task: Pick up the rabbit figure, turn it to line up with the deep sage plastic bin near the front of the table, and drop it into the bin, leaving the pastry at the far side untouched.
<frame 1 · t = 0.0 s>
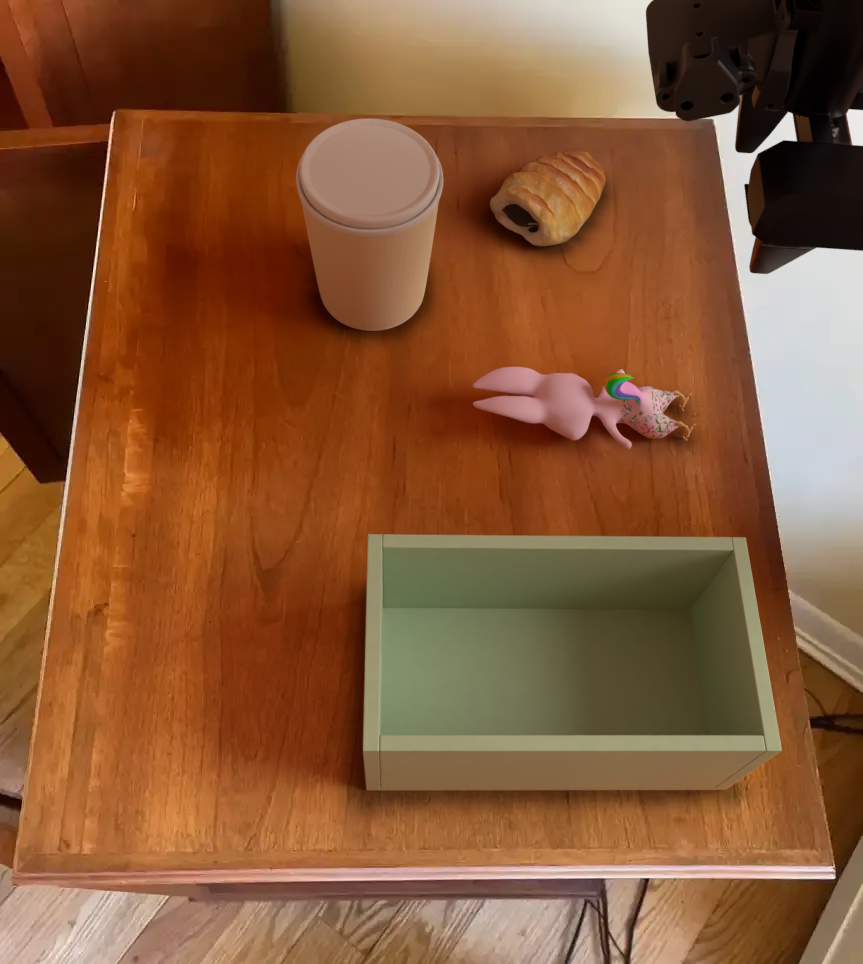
hand: (750, 208, 58), 16 cm above the table, tool pointing down, fingers open, 9 cm apart
rabbit figure: (578, 421, 70), on the table
coffee cup: (372, 290, 75), on the table
pastry: (545, 211, 79), on the table
bin: (541, 690, 61), on the table
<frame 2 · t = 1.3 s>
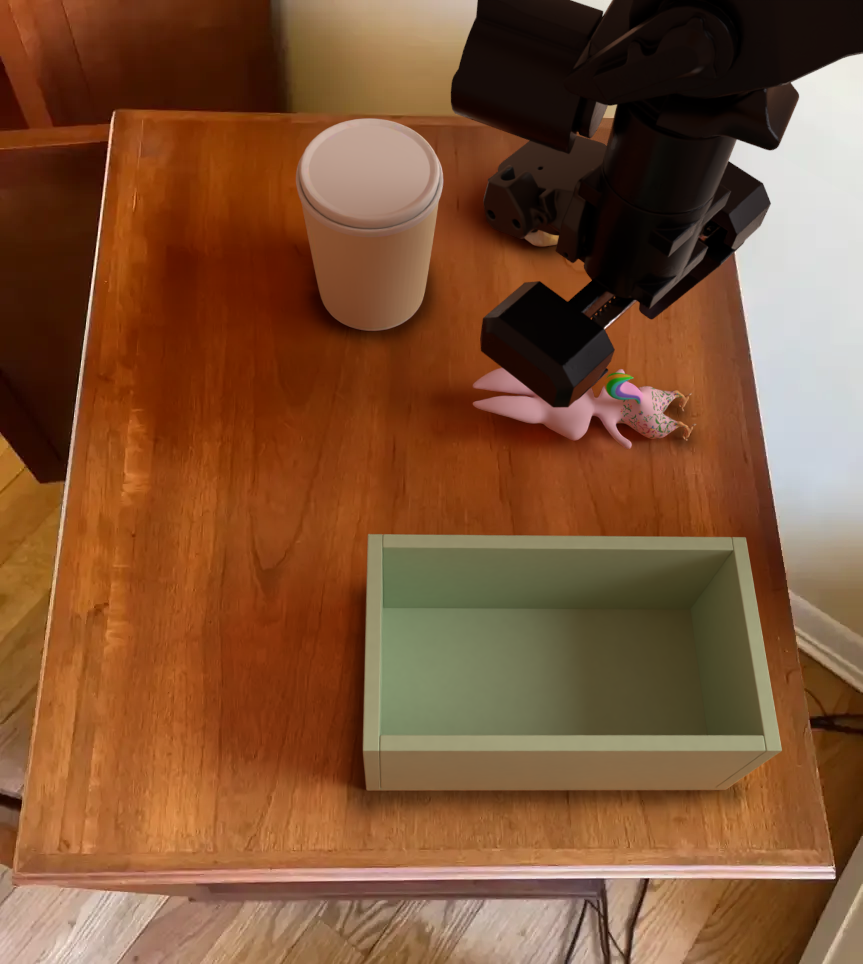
hand: (601, 356, 63), 7 cm above the table, tool pointing down, fingers open, 9 cm apart
nothing on the table moved.
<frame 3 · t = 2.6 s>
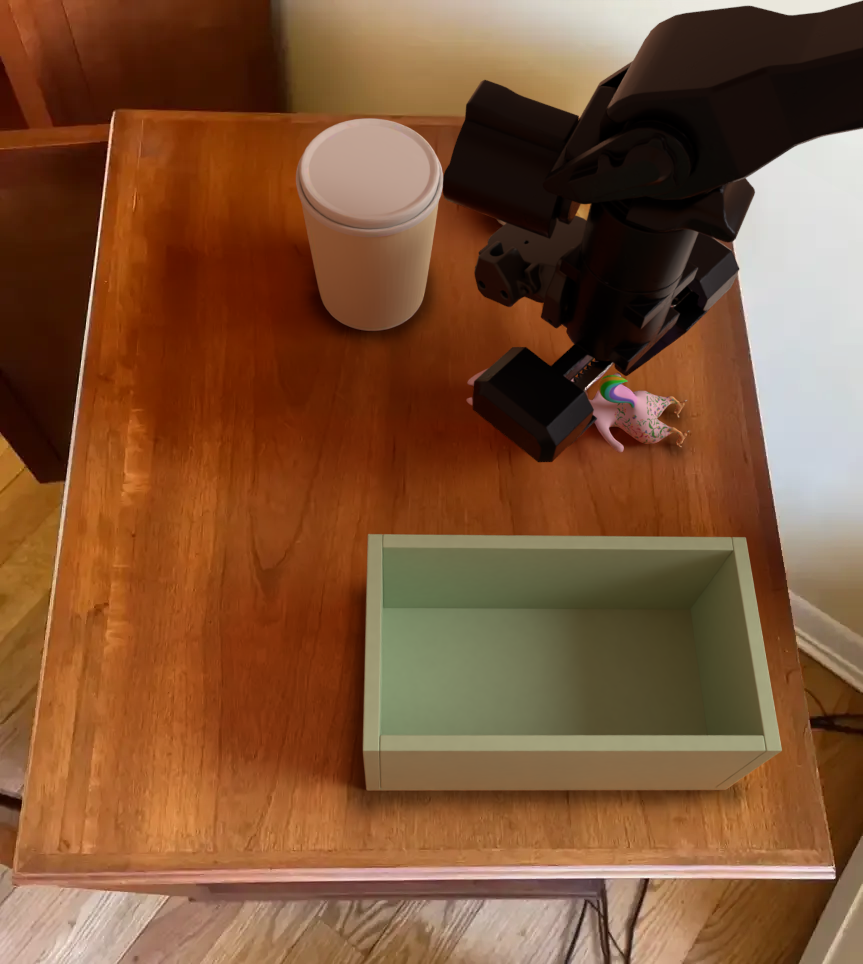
hand: (586, 404, 68), 2 cm above the table, tool pointing down, fingers closed on rabbit figure, 7 cm apart
rabbit figure: (572, 423, 70), on the table, touching gripper
everything else where it was.
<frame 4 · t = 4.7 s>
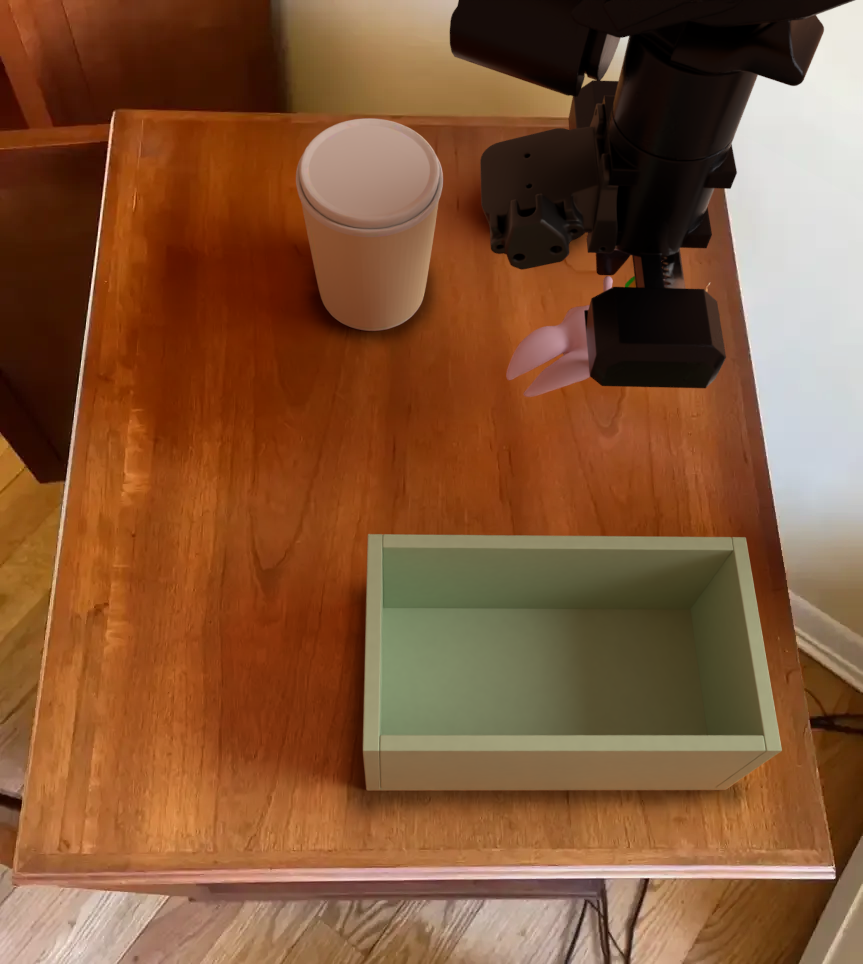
hand: (610, 324, 60), 11 cm above the table, tool pointing down, fingers closed on rabbit figure, 7 cm apart
rabbit figure: (602, 351, 61), point 9 cm above the table, touching gripper
everything else where it was.
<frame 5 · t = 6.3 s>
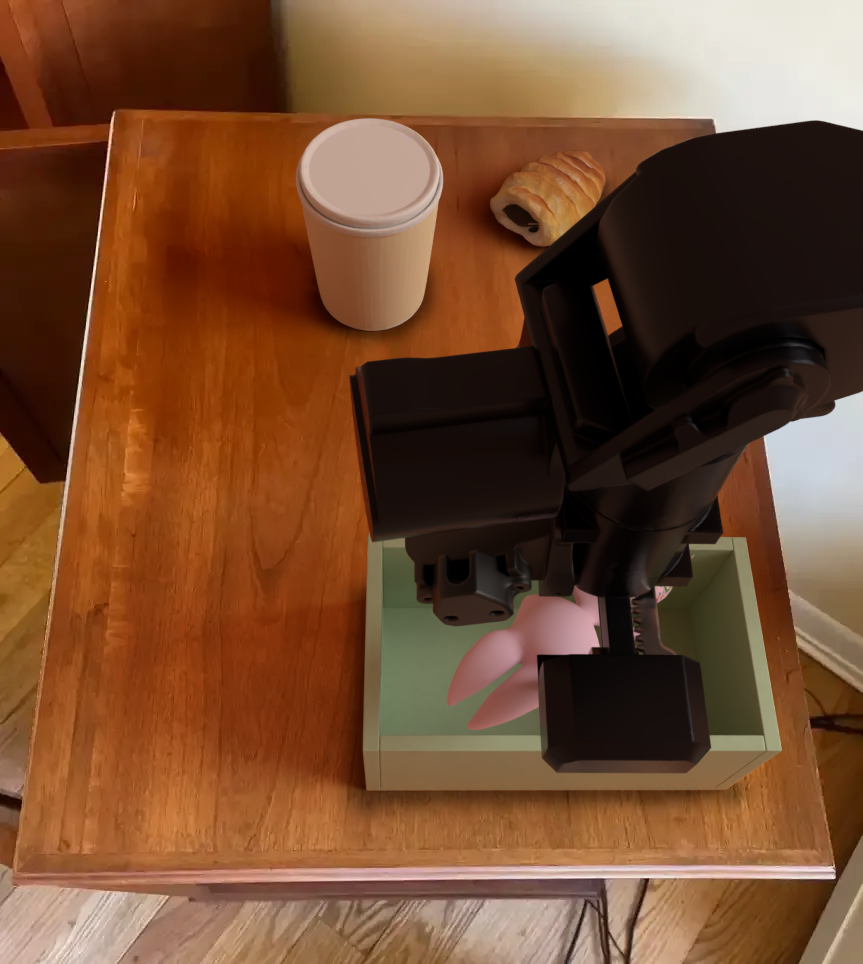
hand: (574, 613, 50), 12 cm above the table, tool pointing down, fingers closed on rabbit figure, 7 cm apart
rabbit figure: (566, 640, 51), point 10 cm above the table, touching gripper
everything else where it was.
when the fingers open (10 cm above the table, at t = 7.3 s): rabbit figure drops 7 cm, resting on bin.
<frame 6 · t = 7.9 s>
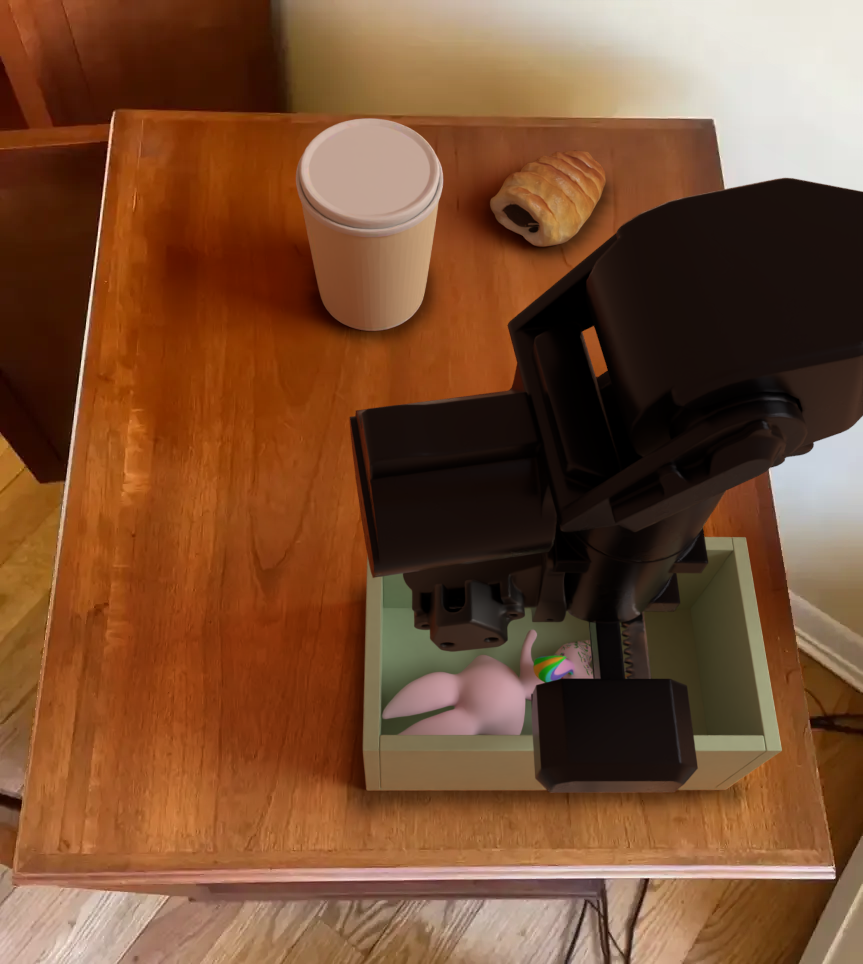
hand: (566, 633, 52), 10 cm above the table, tool pointing down, fingers open, 9 cm apart
rabbit figure: (501, 703, 59), point 1 cm above the table, touching bin
everything else where it was.
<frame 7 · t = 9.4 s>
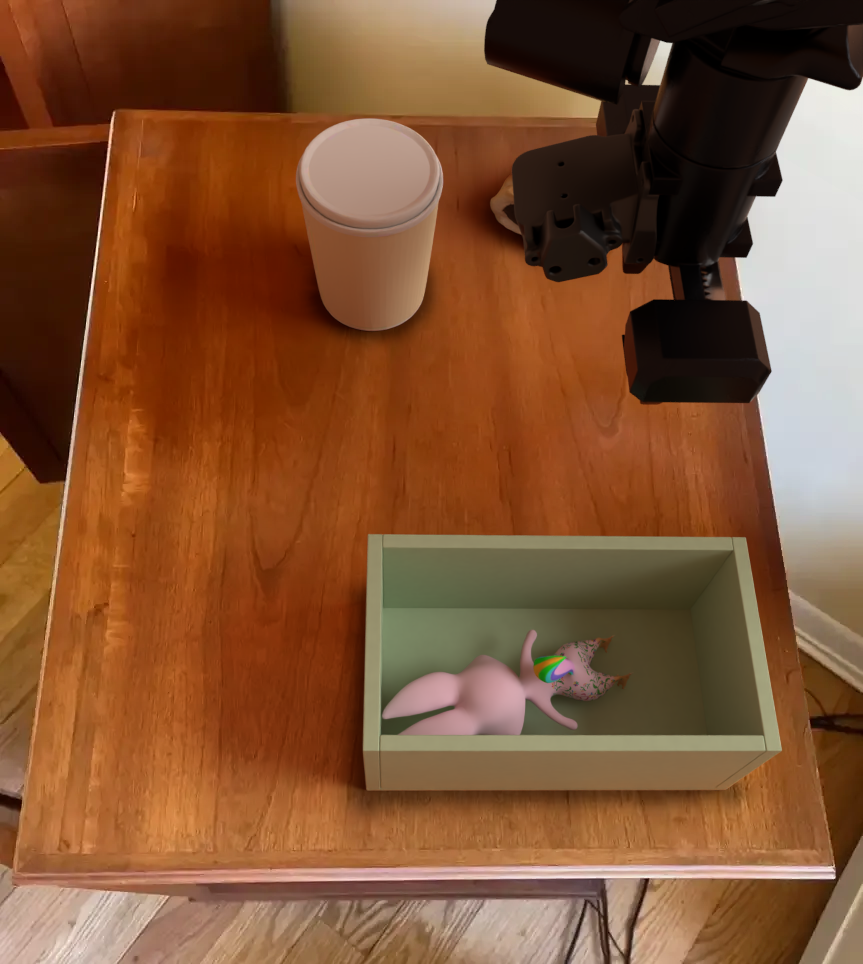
hand: (639, 334, 58), 12 cm above the table, tool pointing down, fingers open, 9 cm apart
nothing on the table moved.
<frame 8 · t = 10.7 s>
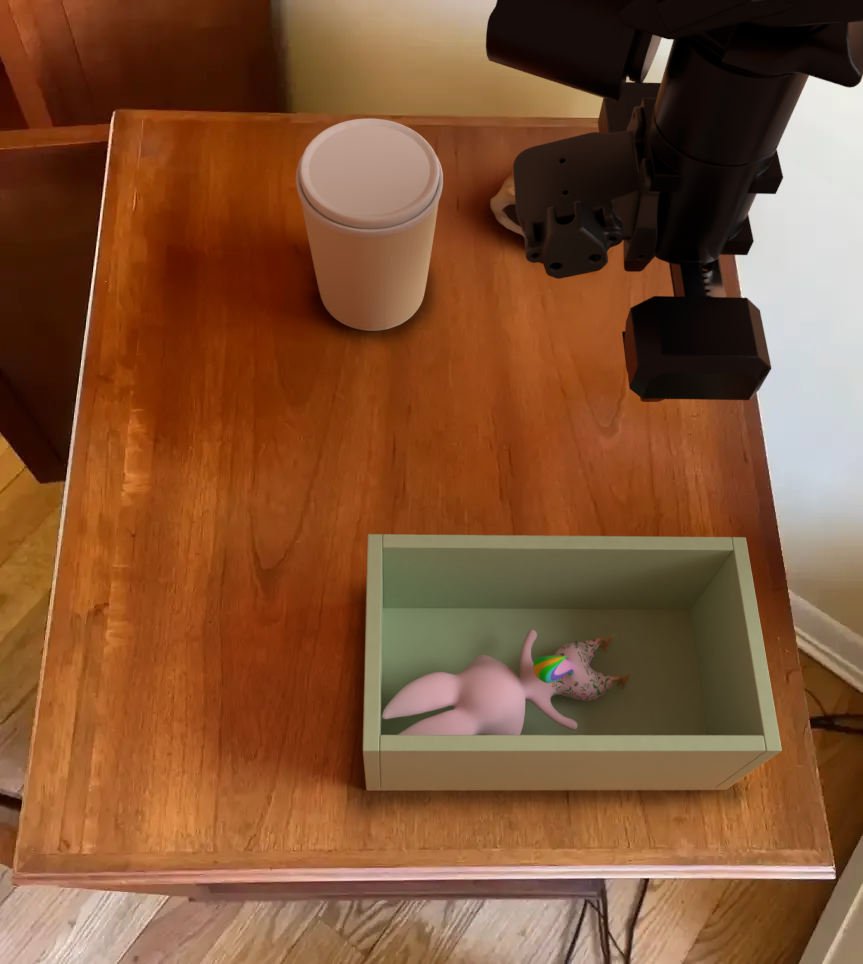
hand: (640, 332, 58), 12 cm above the table, tool pointing down, fingers open, 9 cm apart
nothing on the table moved.
at the end: rabbit figure inside the target area in the bin (2.8 cm from its centre), point 1.2 cm above the bin's base; the gripper is holding nothing; pastry moved 0.2 cm from its start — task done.
